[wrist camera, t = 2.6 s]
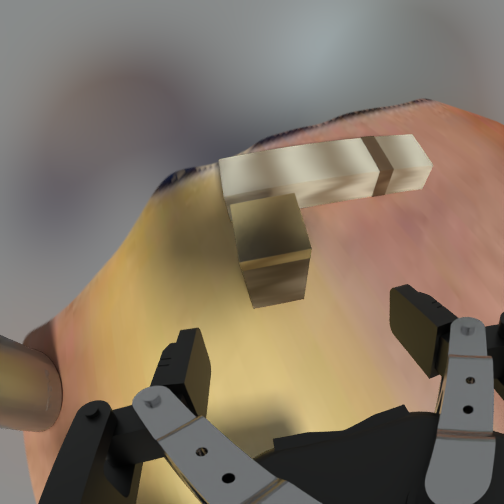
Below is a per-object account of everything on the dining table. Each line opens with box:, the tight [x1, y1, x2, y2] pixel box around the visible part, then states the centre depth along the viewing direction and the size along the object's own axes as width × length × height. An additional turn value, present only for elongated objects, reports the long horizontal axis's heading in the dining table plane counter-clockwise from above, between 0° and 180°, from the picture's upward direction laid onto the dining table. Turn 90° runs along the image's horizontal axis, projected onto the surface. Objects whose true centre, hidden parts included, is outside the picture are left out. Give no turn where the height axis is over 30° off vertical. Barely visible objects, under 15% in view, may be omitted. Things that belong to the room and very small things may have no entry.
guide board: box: [219, 134, 433, 221], centre depth 30 cm, size 22×5×4 cm, turn 99°
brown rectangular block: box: [230, 193, 312, 309], centre depth 23 cm, size 4×4×9 cm
